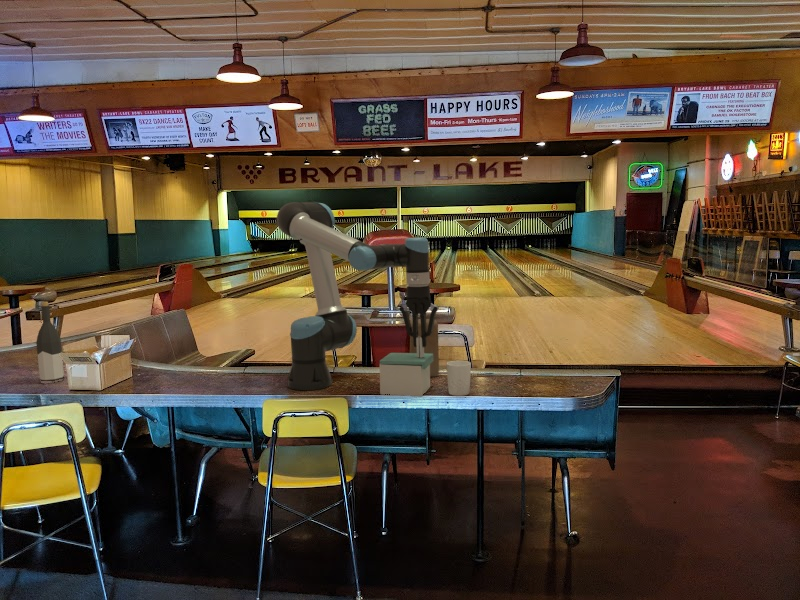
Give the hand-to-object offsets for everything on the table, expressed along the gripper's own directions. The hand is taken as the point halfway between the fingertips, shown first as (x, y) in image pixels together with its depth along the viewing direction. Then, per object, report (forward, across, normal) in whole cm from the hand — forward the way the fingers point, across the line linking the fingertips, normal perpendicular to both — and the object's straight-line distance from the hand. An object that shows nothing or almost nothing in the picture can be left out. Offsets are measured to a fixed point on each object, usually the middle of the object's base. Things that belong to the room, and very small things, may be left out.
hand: (420, 356), depth 208 cm
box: (+12, -6, 0) cm, 13 cm away
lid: (+3, -5, 0) cm, 5 cm away
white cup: (+12, +12, 0) cm, 17 cm away
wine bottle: (+10, -140, -11) cm, 140 cm away
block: (+12, -4, +23) cm, 26 cm away
